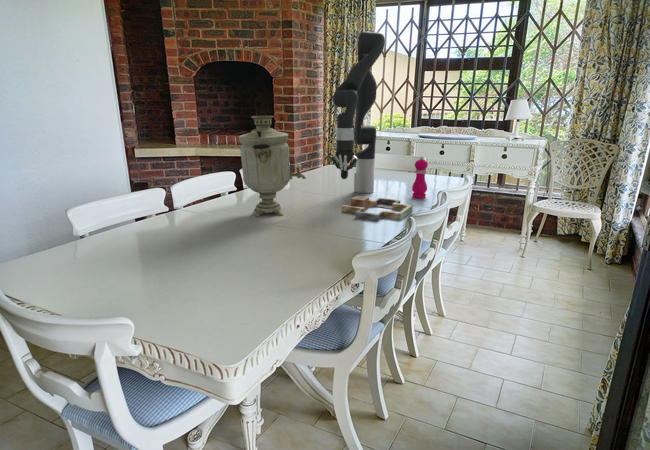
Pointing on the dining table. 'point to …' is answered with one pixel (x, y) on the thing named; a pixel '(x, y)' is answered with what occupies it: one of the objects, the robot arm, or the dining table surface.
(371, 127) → the robot arm
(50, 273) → the dining table surface
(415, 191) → the pepper mill
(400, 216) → the wooden strip frame
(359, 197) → the walnut block
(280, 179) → the samovar
